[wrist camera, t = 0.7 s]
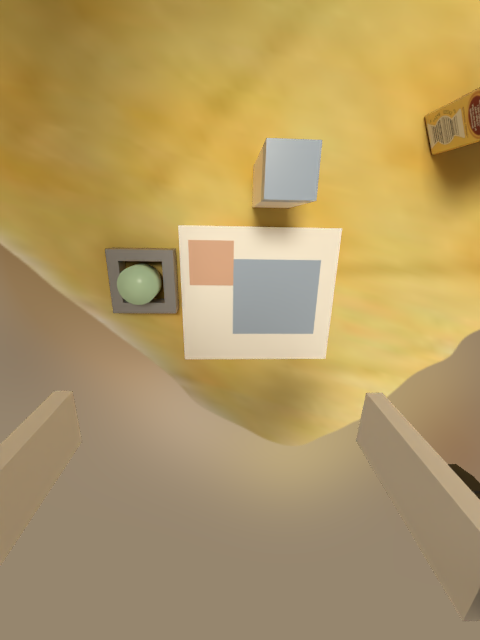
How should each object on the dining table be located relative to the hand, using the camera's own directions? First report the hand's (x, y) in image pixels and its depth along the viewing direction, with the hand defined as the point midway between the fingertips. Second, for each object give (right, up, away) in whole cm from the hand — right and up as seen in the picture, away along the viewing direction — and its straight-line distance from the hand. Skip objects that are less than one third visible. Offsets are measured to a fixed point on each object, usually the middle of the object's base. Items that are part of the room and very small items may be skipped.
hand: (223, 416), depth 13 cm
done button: (-10, +9, +18) cm, 23 cm away
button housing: (-10, +9, +20) cm, 24 cm away
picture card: (+3, +7, +21) cm, 22 cm away
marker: (+4, +19, +17) cm, 26 cm away
